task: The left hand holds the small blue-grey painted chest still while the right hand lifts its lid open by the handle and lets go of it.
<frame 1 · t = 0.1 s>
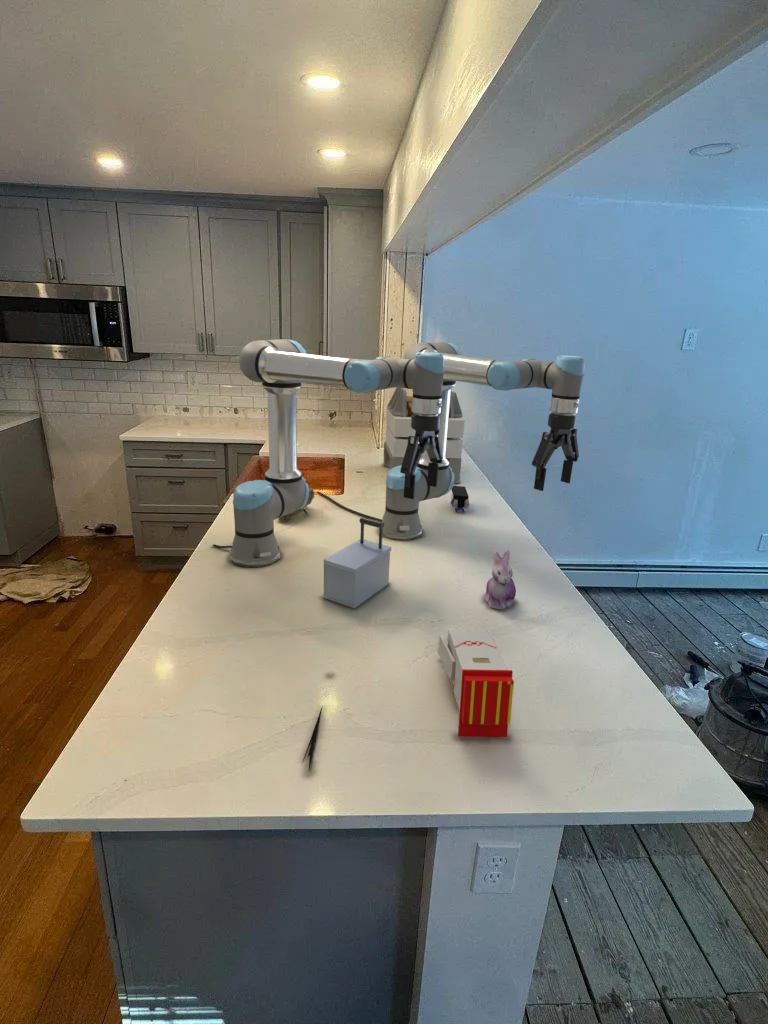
left hand: (420, 491, 155), 28 cm above the counter, tool pointing down, fingers open, 13 cm apart
right hand: (552, 485, 166), 28 cm above the counter, tool pointing down, fingers open, 13 cm apart
lid: (358, 542, 154), point 15 cm above the counter, hinge at 0.0°
figurine: (499, 602, 156), on the counter
figurine character: (458, 508, 229), on the counter
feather: (319, 719, 109), on the counter
chest: (356, 590, 159), on the counter
toy: (469, 691, 119), on the counter
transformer: (419, 473, 275), on the counter
fossil: (297, 514, 214), on the counter
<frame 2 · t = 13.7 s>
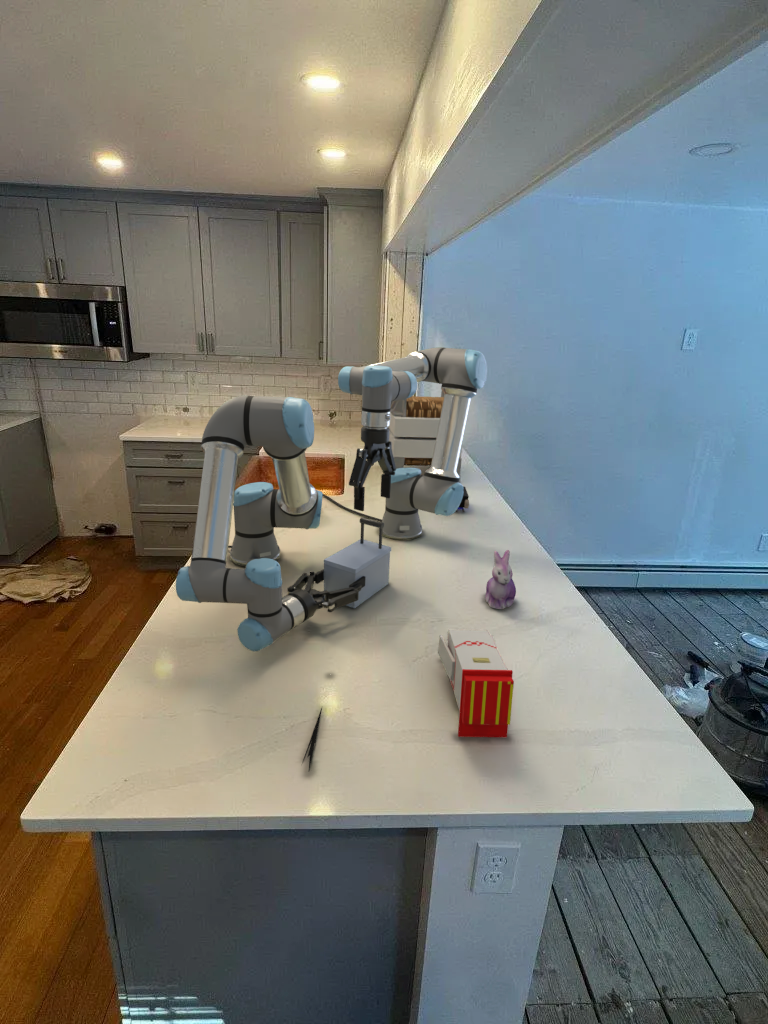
left hand: (347, 575, 152), 7 cm above the counter, tool horizontal, fingers closed on chest, 10 cm apart
right hand: (372, 503, 156), 24 cm above the counter, tool pointing down, fingers open, 13 cm apart
chest: (356, 590, 159), on the counter, touching left hand
everything else where it was.
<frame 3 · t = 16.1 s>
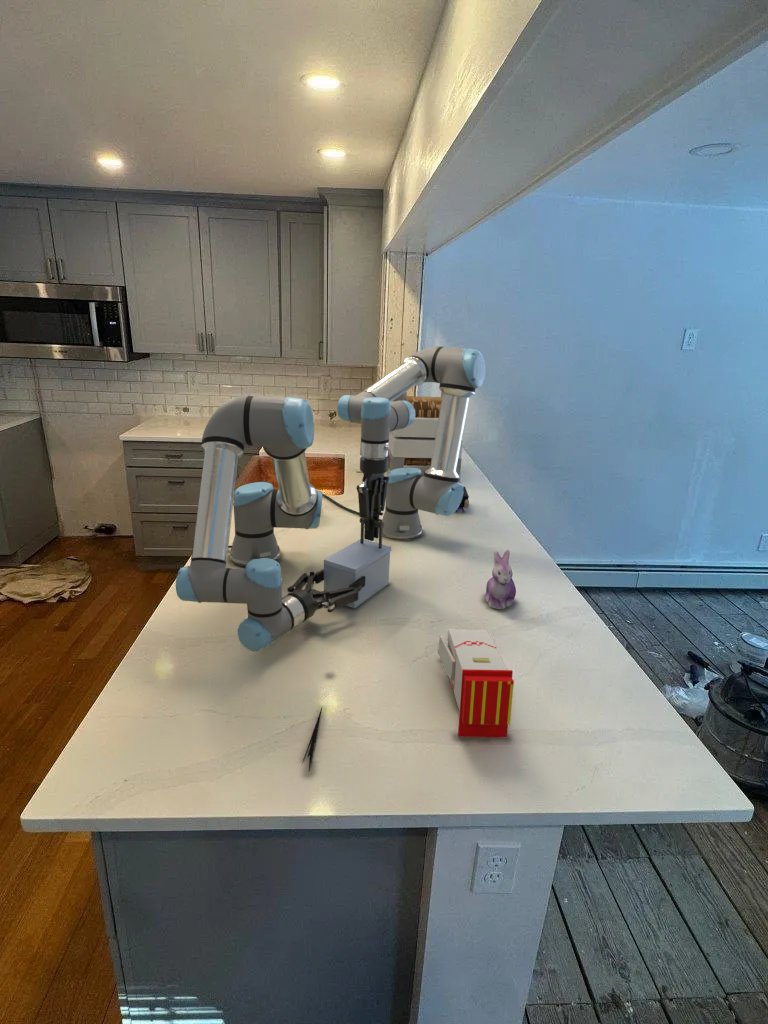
left hand: (347, 575, 152), 7 cm above the counter, tool horizontal, fingers closed on chest, 10 cm apart
right hand: (371, 538, 159), 14 cm above the counter, tool pointing down, fingers closed on lid, 2 cm apart
lid: (358, 541, 154), point 15 cm above the counter, hinge at 0.2°, touching right hand
chest: (356, 590, 159), on the counter, touching left hand
everything else where it was.
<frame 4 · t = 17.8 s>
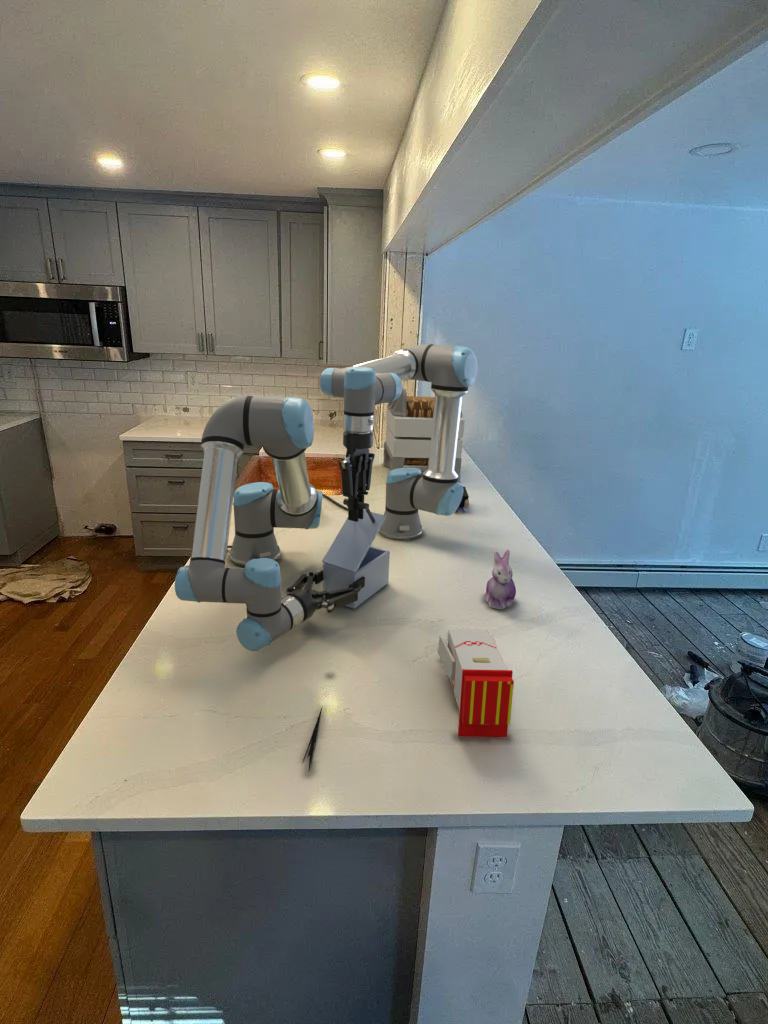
left hand: (346, 575, 152), 7 cm above the counter, tool horizontal, fingers closed on chest, 10 cm apart
right hand: (355, 519, 150), 22 cm above the counter, tool pointing down, fingers closed on lid, 2 cm apart
lid: (349, 531, 149), point 19 cm above the counter, hinge at 36.6°, touching right hand
chest: (356, 590, 159), on the counter, touching left hand
everything else where it was.
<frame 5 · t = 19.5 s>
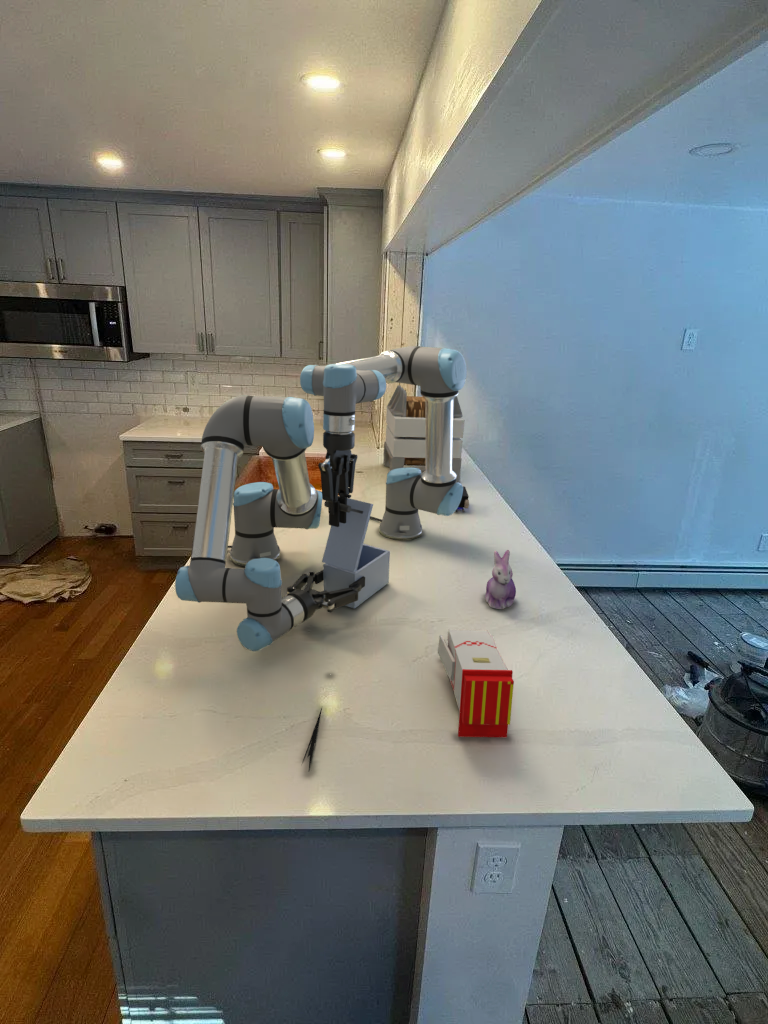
left hand: (347, 575, 152), 7 cm above the counter, tool horizontal, fingers closed on chest, 10 cm apart
right hand: (337, 523, 143), 23 cm above the counter, tool pointing down, fingers open, 2 cm apart
lid: (339, 532, 144), point 21 cm above the counter, hinge at 65.5°
chest: (357, 590, 159), on the counter, touching left hand
everything else where it was.
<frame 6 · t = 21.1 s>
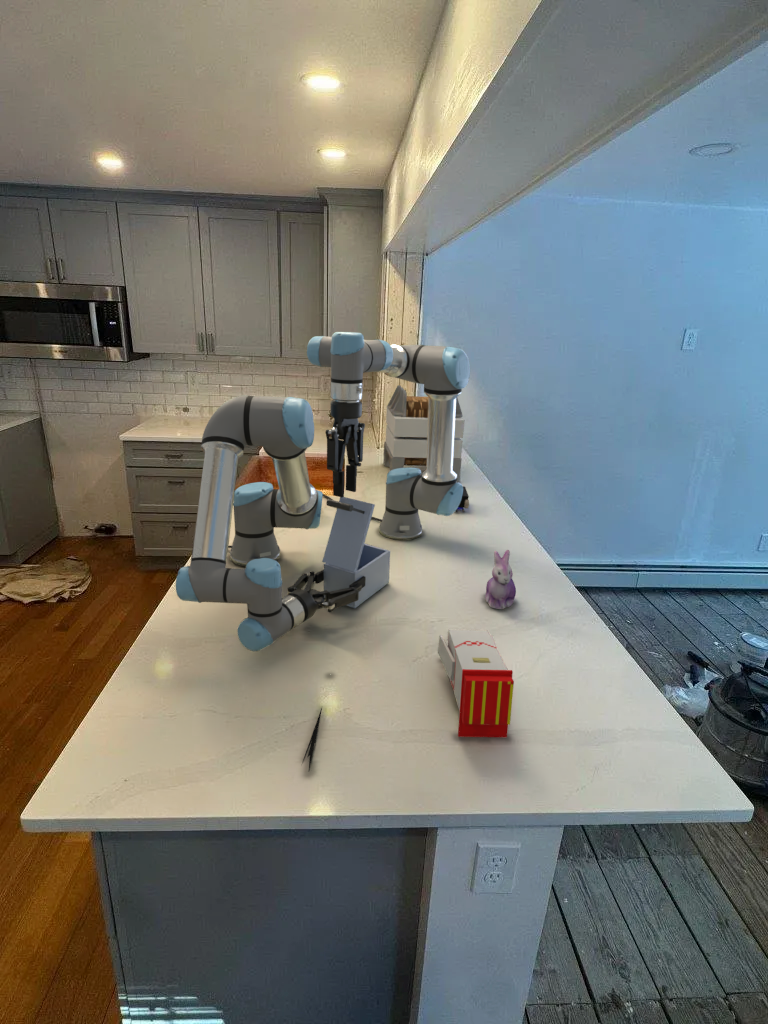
left hand: (347, 575, 152), 7 cm above the counter, tool horizontal, fingers closed on chest, 10 cm apart
right hand: (344, 493, 143), 31 cm above the counter, tool pointing down, fingers open, 5 cm apart
lid: (340, 531, 145), point 21 cm above the counter, hinge at 63.2°
chest: (357, 589, 159), on the counter, touching left hand
everything else where it was.
when the left hand's fingers open (7 cm above the counter, at t = 23.4 s): chest stays where it is, on the counter.
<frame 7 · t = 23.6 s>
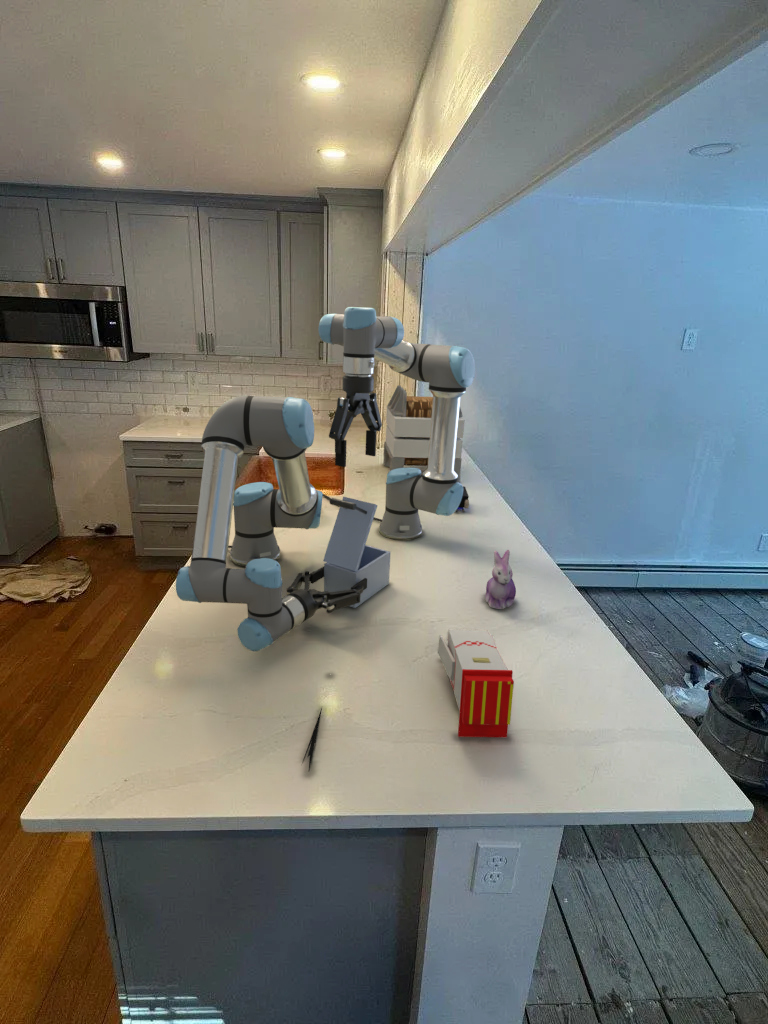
left hand: (345, 576, 152), 7 cm above the counter, tool horizontal, fingers open, 12 cm apart
right hand: (356, 460, 144), 38 cm above the counter, tool pointing down, fingers open, 13 cm apart
lid: (342, 530, 146), point 21 cm above the counter, hinge at 60.8°
chest: (357, 590, 159), on the counter
everything else where it was.
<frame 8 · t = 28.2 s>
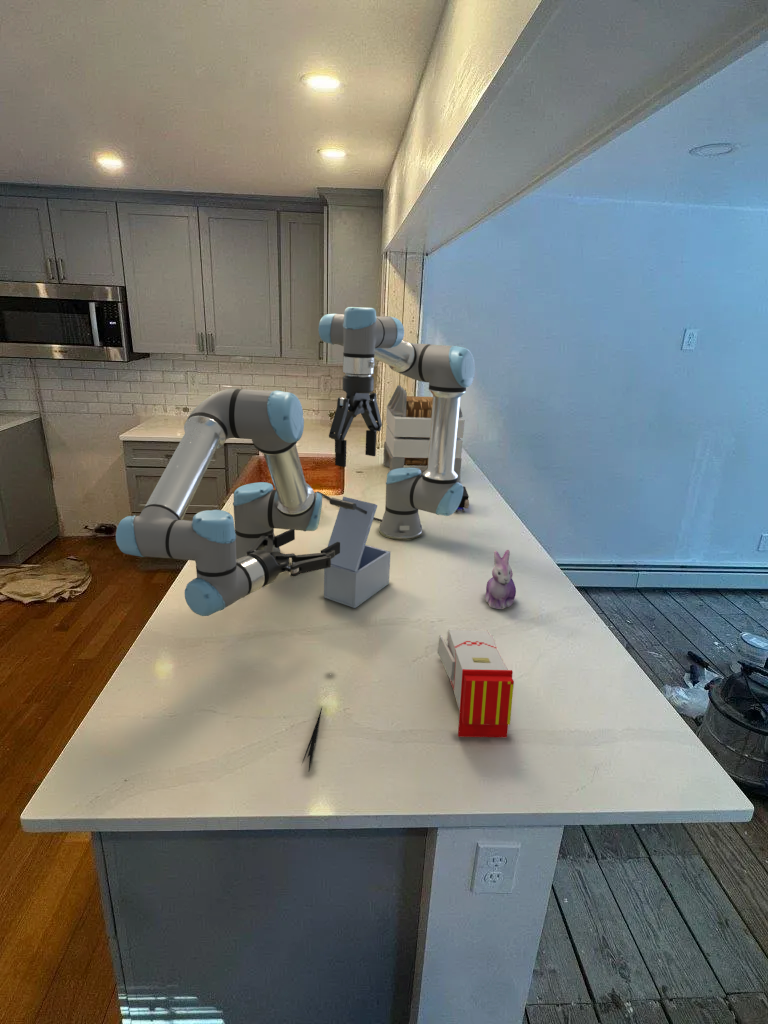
left hand: (315, 540, 136), 22 cm above the counter, tool horizontal, fingers open, 13 cm apart
right hand: (356, 460, 144), 38 cm above the counter, tool pointing down, fingers open, 13 cm apart
nothing on the counter moved.
at the end: lid at +61° (first picture: +0°); the left hand is holding nothing; the right hand is holding nothing; chest tilted 0°; chest never tilted more than 2° during the clip; chest moved 0.2 cm from its start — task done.
